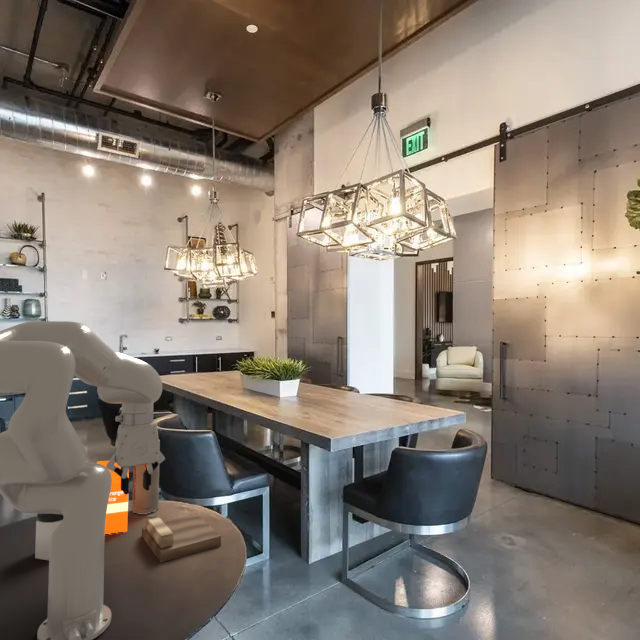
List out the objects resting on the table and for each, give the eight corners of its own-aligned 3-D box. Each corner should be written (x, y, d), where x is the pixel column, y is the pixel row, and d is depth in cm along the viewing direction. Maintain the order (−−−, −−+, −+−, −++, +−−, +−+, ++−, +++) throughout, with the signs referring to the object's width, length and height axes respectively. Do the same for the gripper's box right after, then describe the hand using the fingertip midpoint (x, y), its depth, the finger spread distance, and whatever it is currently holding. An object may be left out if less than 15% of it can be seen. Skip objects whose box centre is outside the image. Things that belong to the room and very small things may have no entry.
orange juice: (95, 526, 133) (97, 458, 133) (127, 521, 136) (129, 455, 137) (93, 537, 125) (95, 465, 126) (127, 532, 129) (129, 462, 130)
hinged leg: (144, 526, 126) (145, 516, 126) (155, 524, 128) (155, 513, 128) (161, 548, 113) (161, 536, 113) (173, 544, 115) (173, 533, 115)
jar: (42, 547, 119) (43, 501, 120) (75, 543, 122) (77, 498, 122) (31, 563, 111) (32, 514, 111) (67, 558, 113) (69, 510, 114)
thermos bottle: (130, 516, 140) (133, 426, 141) (133, 506, 148) (135, 421, 149) (157, 513, 142) (159, 425, 143) (159, 504, 150) (160, 420, 151)
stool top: (220, 545, 121) (220, 535, 121) (160, 562, 112) (161, 552, 112) (196, 522, 136) (196, 514, 136) (141, 536, 126) (142, 527, 126)
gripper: (104, 424, 106) (102, 502, 106) (175, 417, 116) (173, 488, 116) (98, 419, 113) (96, 493, 112) (166, 413, 122) (164, 480, 122)
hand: (135, 490), depth 114 cm, fingers open, 4 cm apart
